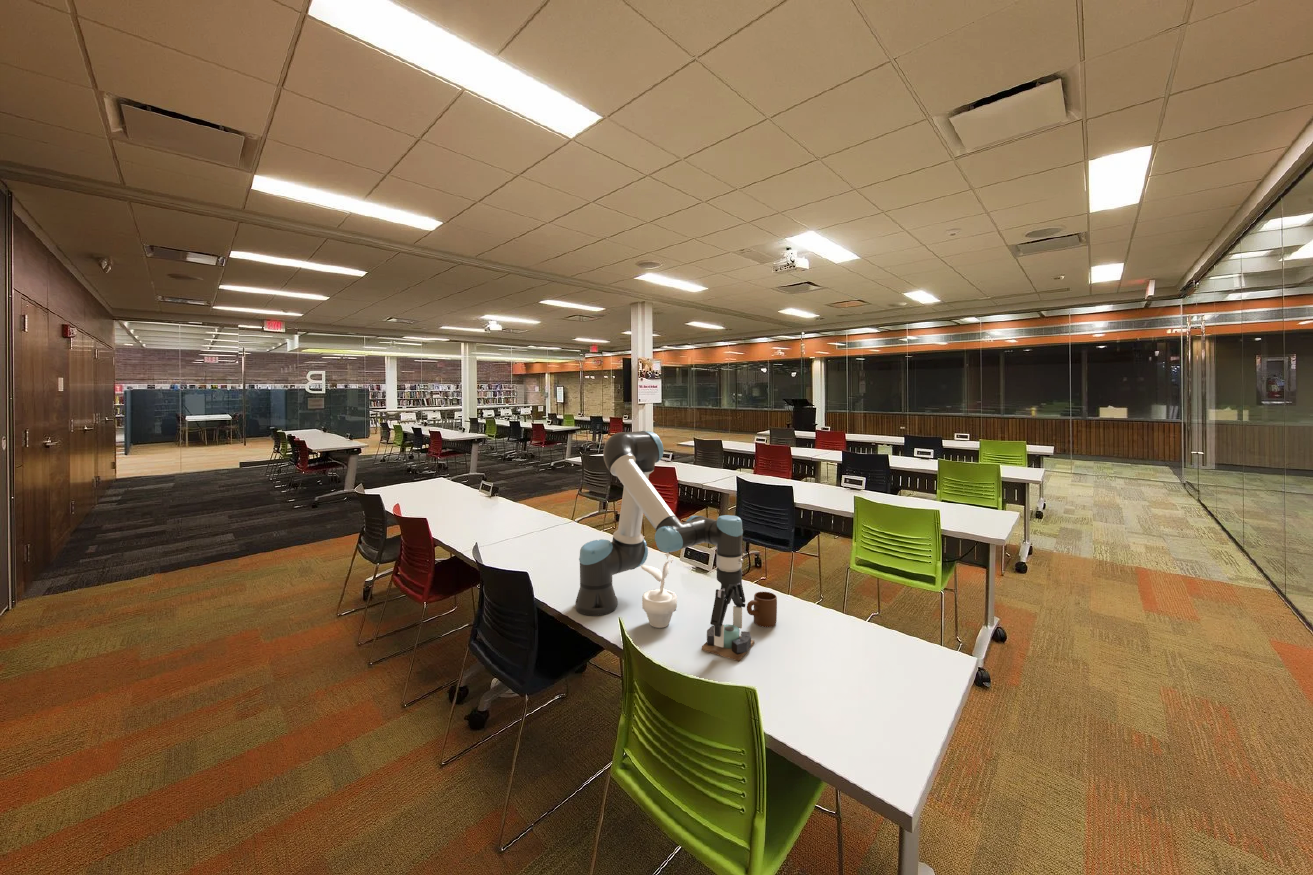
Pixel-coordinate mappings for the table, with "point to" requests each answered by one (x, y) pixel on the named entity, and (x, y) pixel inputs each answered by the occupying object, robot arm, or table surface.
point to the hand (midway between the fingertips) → (728, 636)
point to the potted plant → (659, 598)
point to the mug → (764, 609)
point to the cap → (730, 635)
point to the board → (725, 651)
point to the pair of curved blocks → (737, 645)
